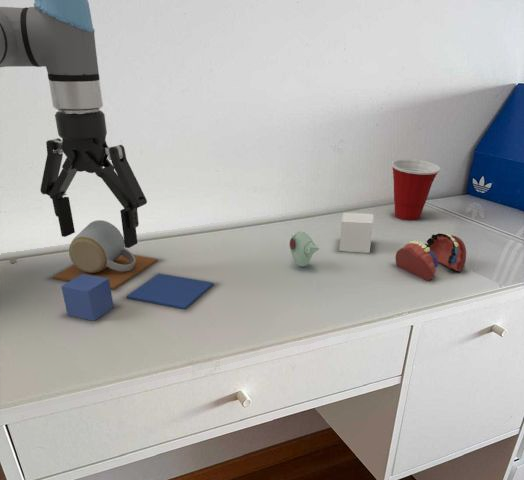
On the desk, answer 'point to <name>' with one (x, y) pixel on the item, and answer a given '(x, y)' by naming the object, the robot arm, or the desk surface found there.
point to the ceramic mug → (99, 248)
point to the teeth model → (432, 255)
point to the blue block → (87, 297)
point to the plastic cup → (412, 186)
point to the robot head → (302, 248)
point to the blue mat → (170, 291)
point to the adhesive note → (356, 232)
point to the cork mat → (110, 271)
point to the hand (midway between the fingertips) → (99, 240)
